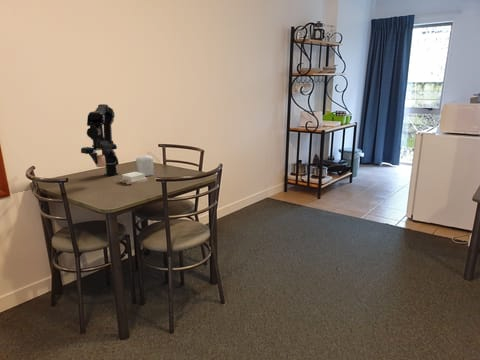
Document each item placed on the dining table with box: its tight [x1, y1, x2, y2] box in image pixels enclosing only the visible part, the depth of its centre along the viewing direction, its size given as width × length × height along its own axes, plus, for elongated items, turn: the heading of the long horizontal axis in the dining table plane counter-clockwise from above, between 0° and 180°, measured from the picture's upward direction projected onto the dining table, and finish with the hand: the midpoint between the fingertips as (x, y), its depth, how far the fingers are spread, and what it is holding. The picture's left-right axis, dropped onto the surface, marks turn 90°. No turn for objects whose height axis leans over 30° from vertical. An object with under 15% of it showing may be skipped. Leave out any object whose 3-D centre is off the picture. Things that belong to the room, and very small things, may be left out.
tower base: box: [119, 176, 149, 186], centre depth 209 cm, size 11×11×2 cm
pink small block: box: [95, 154, 106, 168], centre depth 199 cm, size 5×5×6 cm
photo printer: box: [135, 155, 155, 177], centre depth 220 cm, size 10×4×12 cm, turn 123°
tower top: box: [121, 171, 146, 181], centre depth 208 cm, size 9×9×2 cm
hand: (100, 163), depth 200 cm, fingers closed on pink small block, 5 cm apart
